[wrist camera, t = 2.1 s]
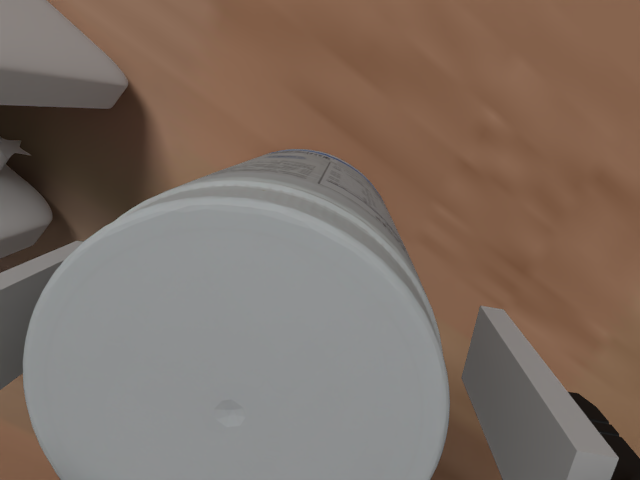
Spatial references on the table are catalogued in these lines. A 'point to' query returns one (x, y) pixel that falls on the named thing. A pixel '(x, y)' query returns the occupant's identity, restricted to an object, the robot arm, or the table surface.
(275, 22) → the table surface
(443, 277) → the table surface
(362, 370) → the supplement tub
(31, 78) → the cable organizer
